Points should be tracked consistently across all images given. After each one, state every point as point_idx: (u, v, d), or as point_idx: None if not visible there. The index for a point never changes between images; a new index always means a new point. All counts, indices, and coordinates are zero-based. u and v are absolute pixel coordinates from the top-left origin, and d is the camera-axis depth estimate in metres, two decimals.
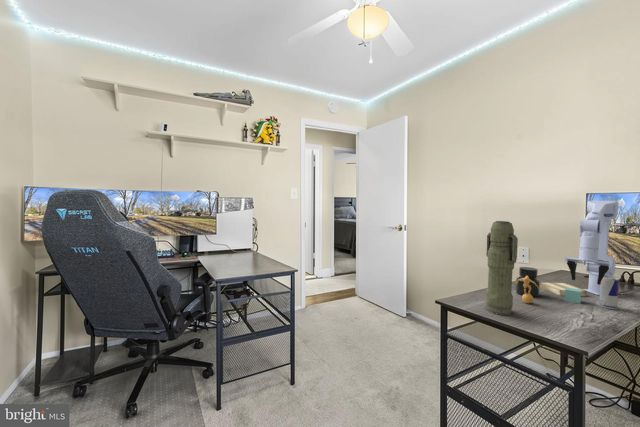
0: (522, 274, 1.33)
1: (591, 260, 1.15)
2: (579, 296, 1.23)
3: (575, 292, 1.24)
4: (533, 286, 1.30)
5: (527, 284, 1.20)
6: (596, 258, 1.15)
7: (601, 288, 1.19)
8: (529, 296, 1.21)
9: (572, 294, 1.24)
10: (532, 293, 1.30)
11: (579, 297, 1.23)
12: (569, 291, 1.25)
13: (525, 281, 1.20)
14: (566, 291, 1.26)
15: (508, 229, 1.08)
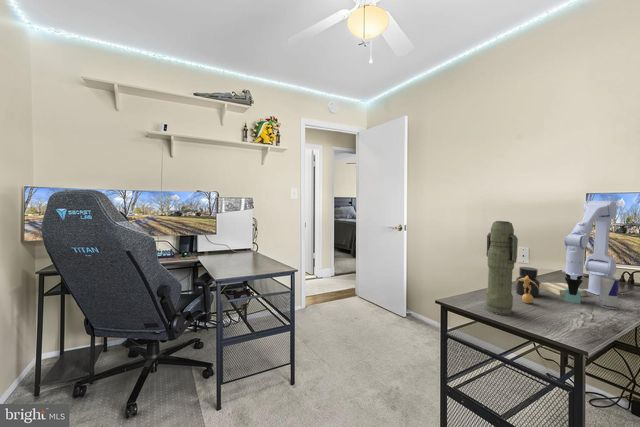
0: (522, 274, 1.33)
1: (566, 271, 1.26)
2: (579, 296, 1.23)
3: None
4: (533, 286, 1.30)
5: (527, 284, 1.20)
6: (570, 270, 1.25)
7: (601, 288, 1.19)
8: (529, 296, 1.21)
9: None
10: (532, 293, 1.30)
11: (579, 297, 1.23)
12: None
13: (525, 281, 1.20)
14: (566, 291, 1.26)
15: (508, 229, 1.08)
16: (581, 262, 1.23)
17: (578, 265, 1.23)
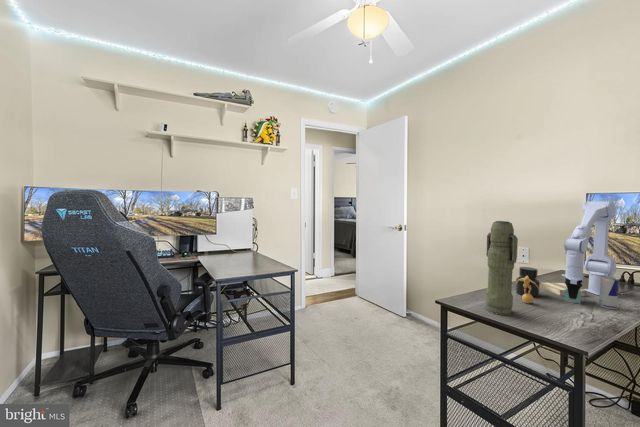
0: (522, 274, 1.33)
1: (565, 276, 1.26)
2: (579, 296, 1.23)
3: None
4: (533, 286, 1.30)
5: (527, 284, 1.20)
6: (570, 274, 1.25)
7: (601, 288, 1.19)
8: (529, 296, 1.21)
9: None
10: (532, 293, 1.30)
11: (579, 297, 1.23)
12: None
13: (525, 281, 1.20)
14: (566, 291, 1.26)
15: (508, 229, 1.08)
16: (581, 266, 1.23)
17: (578, 269, 1.23)
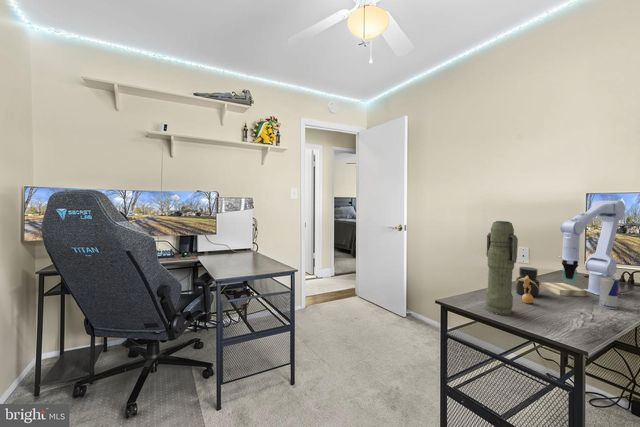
0: (522, 274, 1.33)
1: (562, 257, 1.32)
2: (575, 276, 1.28)
3: None
4: (533, 286, 1.30)
5: (527, 284, 1.20)
6: (566, 255, 1.30)
7: (601, 288, 1.19)
8: (529, 296, 1.21)
9: None
10: (532, 293, 1.30)
11: (575, 277, 1.28)
12: None
13: (525, 281, 1.20)
14: (563, 271, 1.31)
15: (508, 229, 1.08)
16: (576, 248, 1.28)
17: (574, 250, 1.28)
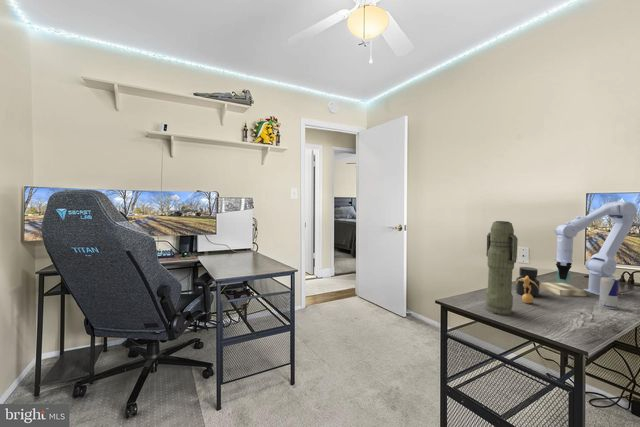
0: (522, 274, 1.33)
1: (556, 259, 1.39)
2: (568, 277, 1.36)
3: None
4: (533, 286, 1.30)
5: (527, 284, 1.20)
6: (560, 257, 1.37)
7: (601, 288, 1.19)
8: (529, 296, 1.21)
9: None
10: (532, 293, 1.30)
11: (568, 277, 1.36)
12: None
13: (525, 281, 1.20)
14: (557, 272, 1.38)
15: (508, 229, 1.08)
16: (566, 250, 1.36)
17: (567, 253, 1.35)
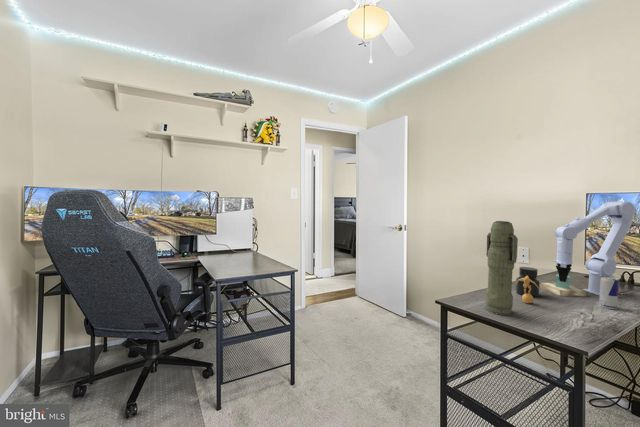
0: (522, 274, 1.33)
1: (556, 261, 1.39)
2: (568, 282, 1.36)
3: None
4: (533, 286, 1.30)
5: (527, 284, 1.20)
6: (560, 259, 1.37)
7: (601, 288, 1.19)
8: (529, 296, 1.21)
9: None
10: (532, 293, 1.30)
11: (568, 282, 1.36)
12: None
13: (525, 281, 1.20)
14: (556, 277, 1.38)
15: (508, 229, 1.08)
16: (566, 252, 1.36)
17: (567, 255, 1.36)
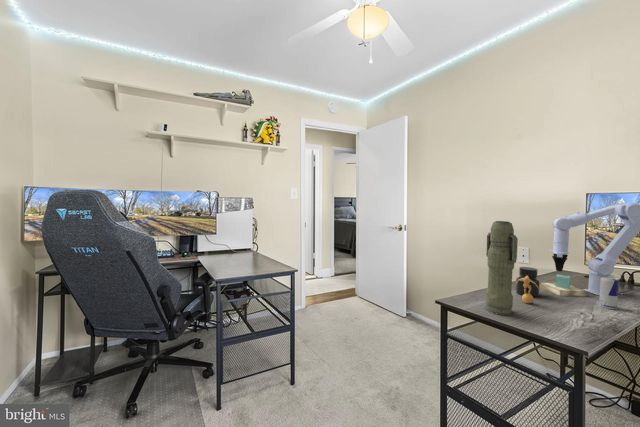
0: (522, 274, 1.33)
1: (553, 251, 1.44)
2: (568, 282, 1.36)
3: (564, 278, 1.37)
4: (533, 286, 1.30)
5: (527, 284, 1.20)
6: (557, 249, 1.42)
7: (601, 288, 1.19)
8: (529, 296, 1.21)
9: (562, 280, 1.37)
10: (532, 293, 1.30)
11: (568, 283, 1.36)
12: (559, 277, 1.38)
13: (525, 281, 1.20)
14: (556, 277, 1.39)
15: (508, 229, 1.08)
16: (560, 242, 1.41)
17: (563, 245, 1.40)
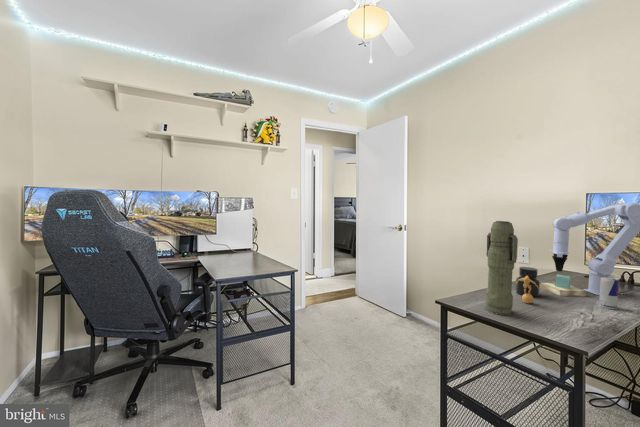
0: (522, 274, 1.33)
1: (553, 251, 1.44)
2: (568, 282, 1.36)
3: (564, 278, 1.37)
4: (533, 286, 1.30)
5: (527, 284, 1.20)
6: (557, 249, 1.42)
7: (601, 288, 1.19)
8: (529, 296, 1.21)
9: (561, 280, 1.37)
10: (532, 293, 1.30)
11: (568, 283, 1.36)
12: (559, 277, 1.38)
13: (525, 281, 1.20)
14: (556, 277, 1.39)
15: (508, 229, 1.08)
16: (560, 242, 1.41)
17: (563, 245, 1.40)
